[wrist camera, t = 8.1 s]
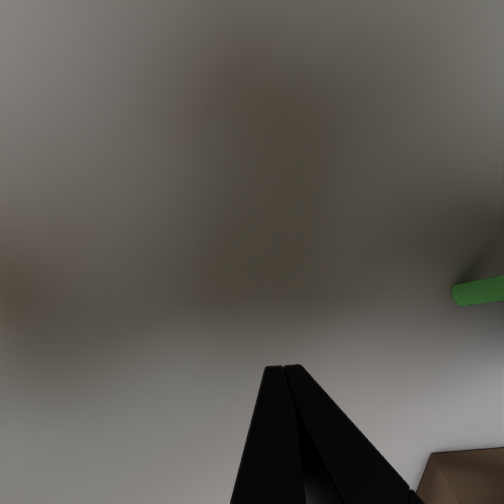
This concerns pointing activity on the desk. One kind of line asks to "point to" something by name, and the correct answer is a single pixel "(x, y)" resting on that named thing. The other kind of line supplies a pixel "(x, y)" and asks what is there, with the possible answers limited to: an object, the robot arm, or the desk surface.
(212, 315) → the desk surface
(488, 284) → the gear
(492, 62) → the desk surface
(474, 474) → the joist marks
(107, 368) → the desk surface
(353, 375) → the desk surface
